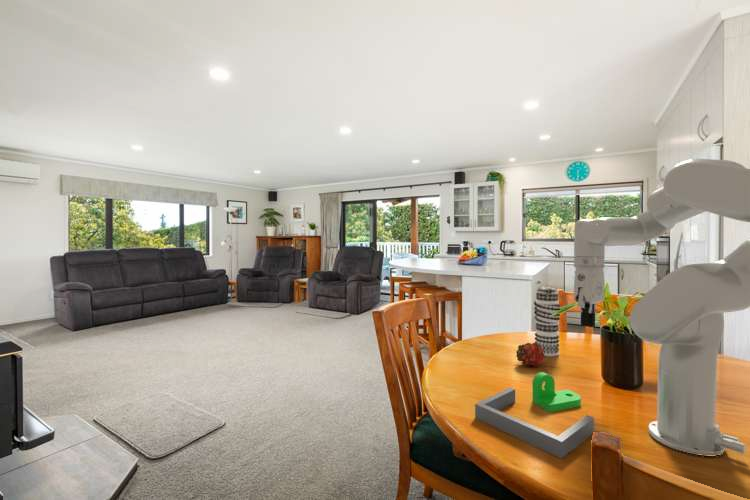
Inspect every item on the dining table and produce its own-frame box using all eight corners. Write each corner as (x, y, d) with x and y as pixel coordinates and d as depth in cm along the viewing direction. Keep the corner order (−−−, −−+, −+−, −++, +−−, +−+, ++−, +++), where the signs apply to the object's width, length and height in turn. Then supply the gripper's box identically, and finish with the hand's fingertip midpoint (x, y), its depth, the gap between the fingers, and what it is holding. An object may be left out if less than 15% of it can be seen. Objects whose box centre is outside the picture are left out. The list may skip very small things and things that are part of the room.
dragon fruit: (517, 373, 121) (537, 370, 128) (537, 363, 116) (557, 361, 123) (506, 348, 126) (526, 347, 133) (525, 339, 120) (544, 338, 127)
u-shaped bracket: (593, 432, 81) (594, 417, 81) (561, 458, 72) (562, 441, 72) (510, 399, 98) (510, 387, 98) (475, 417, 89) (475, 403, 89)
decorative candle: (548, 357, 131) (548, 290, 130) (528, 350, 140) (528, 287, 139) (565, 354, 135) (566, 288, 134) (545, 347, 144) (545, 285, 143)
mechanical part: (549, 412, 91) (549, 381, 91) (532, 402, 97) (532, 373, 97) (586, 405, 95) (586, 376, 94) (567, 396, 101) (568, 368, 100)
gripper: (592, 264, 95) (591, 333, 96) (613, 262, 104) (612, 324, 105) (563, 263, 101) (562, 327, 102) (586, 260, 110) (585, 319, 111)
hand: (587, 325), depth 103 cm, fingers closed
